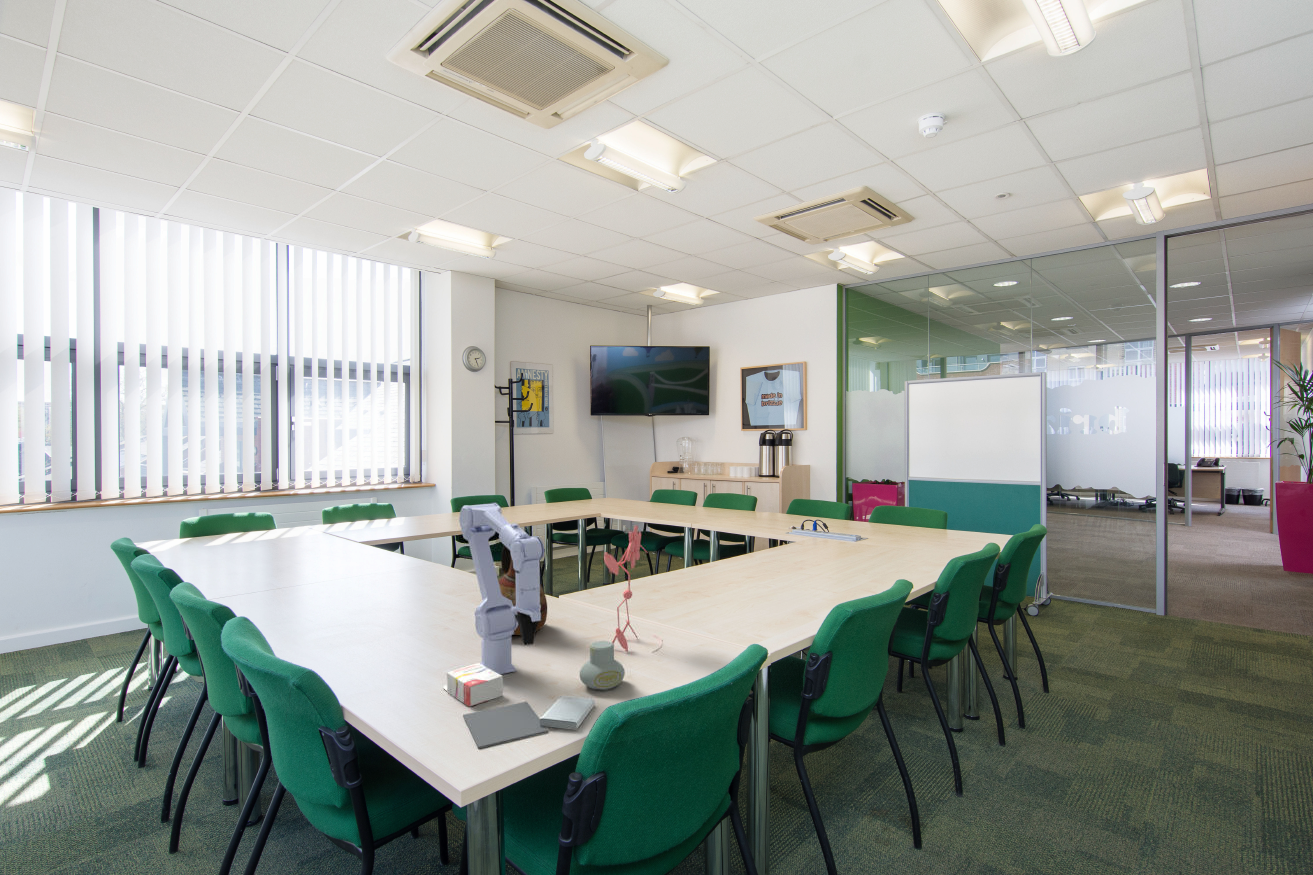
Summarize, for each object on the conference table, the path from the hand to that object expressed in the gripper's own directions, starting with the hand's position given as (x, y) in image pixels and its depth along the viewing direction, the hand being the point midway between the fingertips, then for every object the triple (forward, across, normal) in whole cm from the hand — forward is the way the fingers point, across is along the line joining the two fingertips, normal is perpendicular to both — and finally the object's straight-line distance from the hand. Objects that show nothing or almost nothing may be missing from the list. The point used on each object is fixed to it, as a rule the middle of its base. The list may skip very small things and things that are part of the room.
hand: (528, 643), depth 147 cm
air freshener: (+11, +8, +16) cm, 21 cm away
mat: (+10, +17, -10) cm, 22 cm away
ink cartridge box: (+8, +4, -11) cm, 14 cm away
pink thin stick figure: (+11, -14, +36) cm, 40 cm away
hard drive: (+10, +20, +3) cm, 23 cm away
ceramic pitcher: (+11, -46, +9) cm, 48 cm away
